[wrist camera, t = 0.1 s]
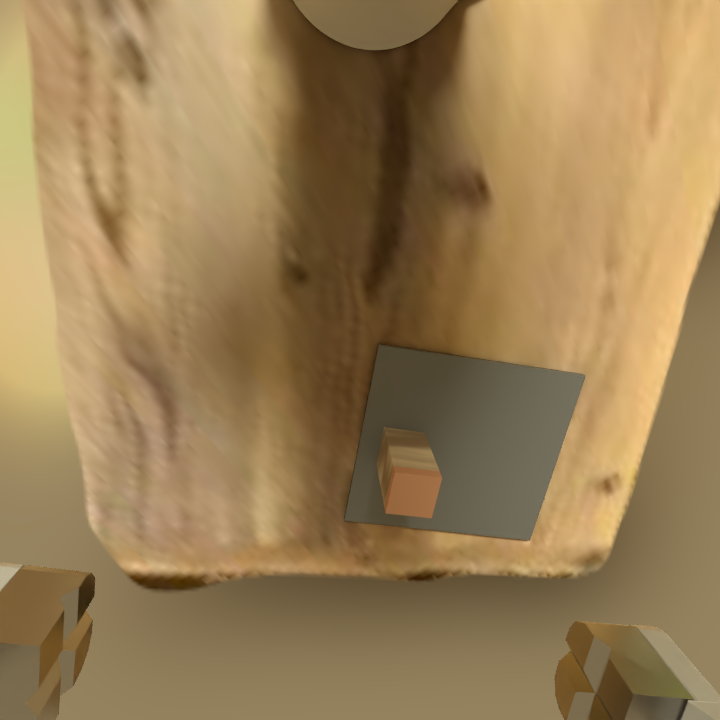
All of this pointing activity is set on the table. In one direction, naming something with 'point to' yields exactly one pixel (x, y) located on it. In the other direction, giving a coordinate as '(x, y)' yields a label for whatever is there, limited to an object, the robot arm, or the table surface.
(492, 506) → the rubber mat
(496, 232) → the table surface
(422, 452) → the maple block
